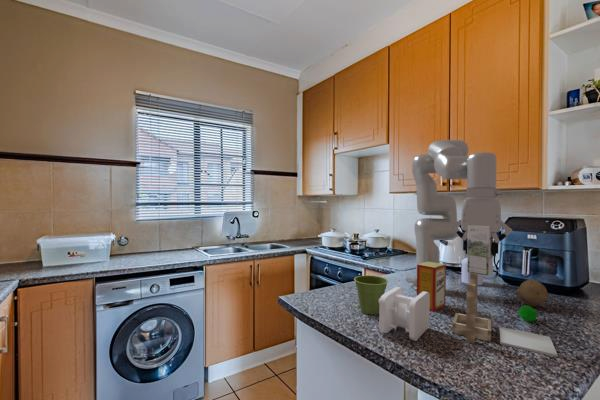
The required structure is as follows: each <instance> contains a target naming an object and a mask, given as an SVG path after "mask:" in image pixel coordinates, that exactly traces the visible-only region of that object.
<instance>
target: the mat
mask: <svg viewBox="0 0 600 400" xmlns="http://www.w3.org/2000/svg"><path fill="white" fill-rule="evenodd" d="M499 341H500V343H499V344H500V345H503V346H507V347H512V348H515V349H519V350H524V351H529V352H533V353H536V354H537V353H538V354H542V355H547V356H552V357H555V358H558V352H557V350H556V348H555V345H554V343H553V341H552V339H551V336H548V335H543V334H538V333H533V332H529V331H528V332H527V331H522V330H518V329H512V328H507V327H503V326H499Z"/></svg>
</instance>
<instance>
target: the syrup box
mask: <svg viewBox="0 0 600 400" xmlns="http://www.w3.org/2000/svg"><path fill="white" fill-rule="evenodd" d="M493 240H494V239H493V237H492V235H491V233H490V226H477V225H468V247H467V254H466V255H467V256H466V258H467V272H469V273H475V274H481V275H483V276H488V277H489V276H490V275H492V274H493V272H494V264H493V263H494V261H493V259H494V258H493V257H494V256H492V248H493Z"/></svg>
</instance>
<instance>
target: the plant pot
mask: <svg viewBox="0 0 600 400" xmlns="http://www.w3.org/2000/svg"><path fill="white" fill-rule="evenodd" d="M353 280H354V282H355V286H356V290H357V297H358V301H359V302H358V303H359V308H360V311H361V313H364V314H366V315H378V314H379V306H380V303H379V299H380V298H381V296H382V295H383V294H385V293H386V292H385V291H386V289H387V284H388V283H389V280H388V279H387V278H385V277H383V276H378V275H370V274H369V275H358V276H355V277H354V278H353Z"/></svg>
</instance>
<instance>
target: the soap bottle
mask: <svg viewBox="0 0 600 400" xmlns="http://www.w3.org/2000/svg"><path fill="white" fill-rule="evenodd" d="M460 282H461V283H463V284H466V285H467V283H470V273H469V272H467V257H465V258H463V259H462V260H461V281H460ZM483 284H484V275H481V274H478V286H483Z"/></svg>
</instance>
